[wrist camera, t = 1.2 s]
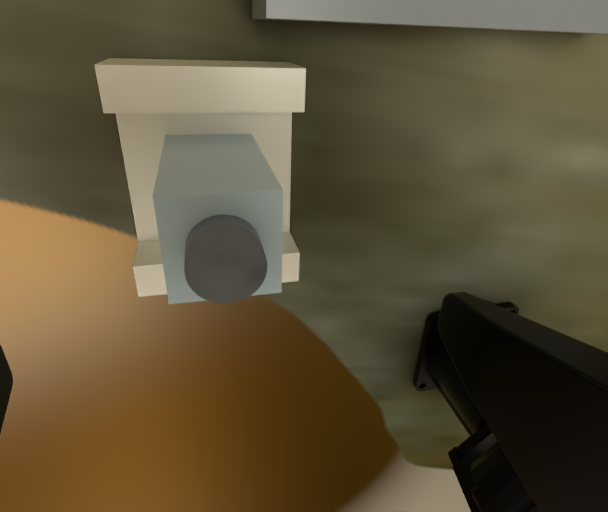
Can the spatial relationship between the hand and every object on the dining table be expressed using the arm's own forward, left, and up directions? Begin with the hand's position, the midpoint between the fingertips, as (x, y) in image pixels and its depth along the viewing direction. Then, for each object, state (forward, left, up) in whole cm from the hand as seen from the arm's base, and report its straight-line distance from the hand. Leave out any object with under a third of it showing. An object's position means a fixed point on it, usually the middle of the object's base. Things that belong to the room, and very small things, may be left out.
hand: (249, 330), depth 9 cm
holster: (0, 0, -12) cm, 12 cm away
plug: (0, 0, -11) cm, 11 cm away
